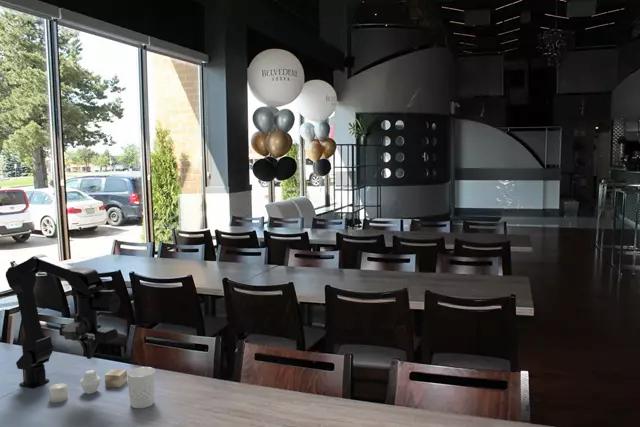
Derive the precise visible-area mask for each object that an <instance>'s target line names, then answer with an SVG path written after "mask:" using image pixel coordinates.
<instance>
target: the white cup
mask: <svg viewBox="0 0 640 427" xmlns="http://www.w3.org/2000/svg"><path fill="white" fill-rule="evenodd" d="M155 382H156V369H155V368H153V367H150V366H141V367H135V368H132V369H130V370H128V371H127V384H128V395H129V396H128V397H129V402H130V407H132V408H134V409H144V408H149V407H151V406H152V405H154V401H155V392H156V390H155V389H156V388H155V386H156V383H155Z"/></svg>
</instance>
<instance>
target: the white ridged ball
mask: <svg viewBox="0 0 640 427" xmlns="http://www.w3.org/2000/svg"><path fill="white" fill-rule="evenodd" d="M101 381H102V379H101V377H100V376H99V375H98V374H97V372H96V370H93V369H92V370H91V369H90V370H87V371H85V372H84V374H83V376H82V378H81V379H80V381H79V384H80V387H81V388H82V390H83V391H84V393H85V394H88V395H89V394H94V393H96V392H97V391H98V389H99V387H100V384H101Z"/></svg>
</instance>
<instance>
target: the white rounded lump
mask: <svg viewBox="0 0 640 427" xmlns="http://www.w3.org/2000/svg"><path fill="white" fill-rule="evenodd" d="M48 388H49V389H48V390H49V391H48V392H49V393H48V394H49V395H48V396H49V402H50V403H54V404H55V403H57V404H58V403H63V402H64V401H66V400H67V399H68V398H69V397H68V385H67V384H66V383H62V382H61V383H56V384H52V385H51V386H49V387H48Z"/></svg>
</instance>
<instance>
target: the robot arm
mask: <svg viewBox="0 0 640 427" xmlns="http://www.w3.org/2000/svg"><path fill="white" fill-rule="evenodd" d="M39 272H44V273H46V274H49V275H52V276H54V277H56V278H59V279H61V280H64V281H66V282H67V283H68V285H69V286H70V287H71V288H73V289H74V290H73V292H71V293H70V296H71V297H76V304H77V305H76V306H77V307H76V308H77V314H74V317H73V321H72V322H69V323H67V324H64V325H61V327H59V330H58V331H59V336H61V337H64V340H66V341H67V340H71V341H74V342H75V341H76V342H78V343H79V344H80V346H81V347H82V349H83V352H84V354H85V356H86V359H87V360H91V359H92V358H93V356H94V354H95V351H96V349H97V346H98V345H99V344H100V343H107V342H108V341H112V340H115V339H116V338H118V337H119V333H118V331H119V330H118V329H117V328H114V327H108V326H107V327H105V328H101V327H102V324H100V323H99V320H98V319H99V318H98V317H99V316H101V313H109V314H110V313H113V314H115V313H116V312H118V311H119V309H120V307H121V303H122V302H121V298H120V296H119V295H118V294H117V293H116V292H117V291H116V290H115V289H110V290H108V288H107V286H106V284H105V283H104V282H103V280H102V278H101V277H100V274H99V272H98V271H97V270H96V269H94V268H89V267H79V266H78V267H76V266H72V265H70V264H67V263H64V262H62V261H60V260H56V259H54V258H51V257H48V256H47V255H46V254H38V255H33V256H30V258H28V259H27V260H24V261H22V262H21V263H19V264H17V265H13V266H10V267H8V268H7V270H6V271H5V278H6V279H5V280H6V281H7V284H8V287H9V288H10V289H11V290H12V291H13V293H15V295H16V299H17V303H18V309H19V313H20V319H21V322H22V327H23V331H24V332H23V333H24V336H25V337H24V340H23V344H22V346H21V348H22V349H21V350H22V355H21V356H20V357H19V359H18V360H17V361H16V362H15V364H16V368H17V369H18V370H22V379H23V381H21V382H20V383H19V386H20V387H21V386H22V387H27V388H31V389H35V388H37V387H39V386H41V385H44V384H46V383H48V382H50V379H48V378H46V377H47V376H46V369H45V367H46V366H45V363H48V362H49V361H50V359H51V356H52V354H53V349H54V346H53V343H52V337H51V336H46V335H45V333H43V330H42V325H41V320H40V315H39V312H38V311H39V310H38V306H37V301H36V296H35V292H34V288H35V286H36V282H37V274H38V273H39ZM100 328H101V329H100Z"/></svg>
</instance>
